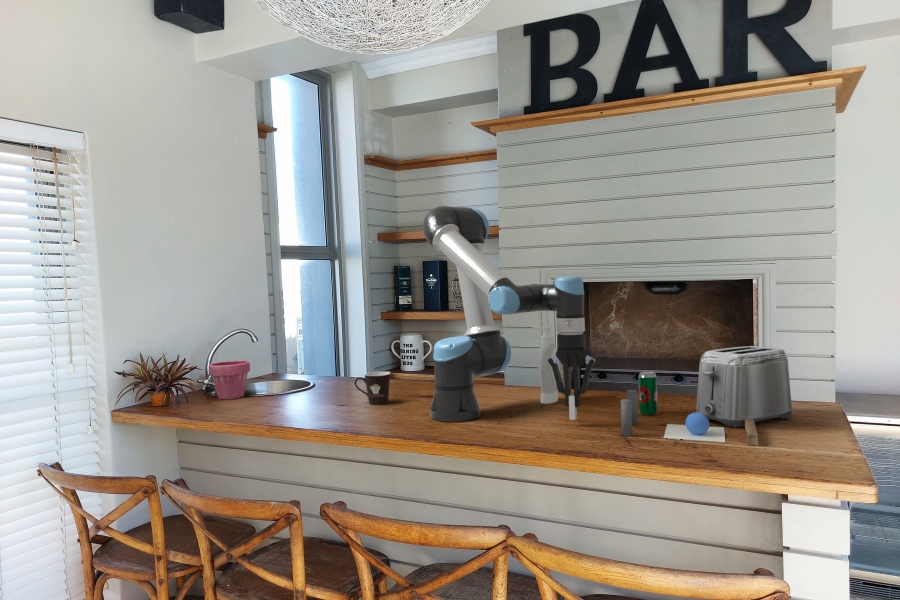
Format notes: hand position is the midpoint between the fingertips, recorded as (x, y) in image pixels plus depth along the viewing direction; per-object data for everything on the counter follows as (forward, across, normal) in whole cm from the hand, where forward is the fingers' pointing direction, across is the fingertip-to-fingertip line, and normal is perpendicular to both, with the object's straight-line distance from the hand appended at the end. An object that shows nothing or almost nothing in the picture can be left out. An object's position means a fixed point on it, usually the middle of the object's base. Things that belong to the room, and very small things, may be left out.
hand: (573, 418), depth 169 cm
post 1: (+2, +15, -6) cm, 16 cm away
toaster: (+2, +44, +20) cm, 49 cm away
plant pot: (+2, -129, +9) cm, 129 cm away
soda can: (+2, +18, +19) cm, 26 cm away
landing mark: (+2, +31, 0) cm, 31 cm away
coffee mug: (+2, -70, +13) cm, 71 cm away
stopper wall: (+2, +44, 0) cm, 44 cm away
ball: (-1, +32, -1) cm, 32 cm away
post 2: (+2, +15, +6) cm, 16 cm away
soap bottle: (+2, -15, +29) cm, 33 cm away
